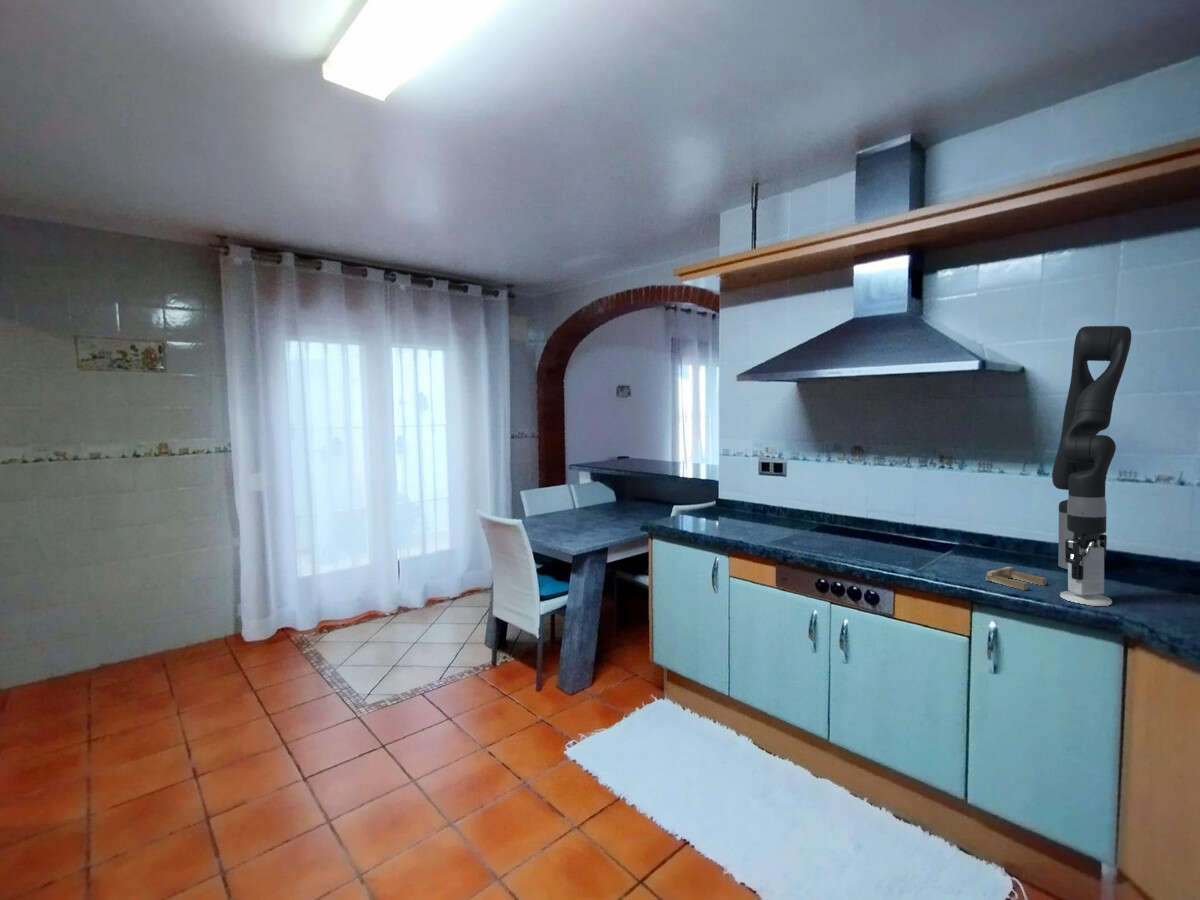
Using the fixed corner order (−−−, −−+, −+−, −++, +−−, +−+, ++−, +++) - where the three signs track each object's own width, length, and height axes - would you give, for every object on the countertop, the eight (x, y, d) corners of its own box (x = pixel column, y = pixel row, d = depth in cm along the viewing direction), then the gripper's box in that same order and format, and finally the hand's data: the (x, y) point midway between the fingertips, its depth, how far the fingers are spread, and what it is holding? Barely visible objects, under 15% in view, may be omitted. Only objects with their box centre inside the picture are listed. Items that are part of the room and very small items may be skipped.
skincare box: (1089, 588, 143) (1089, 543, 142) (1104, 594, 139) (1105, 547, 138) (1066, 590, 143) (1067, 544, 142) (1081, 595, 139) (1082, 548, 138)
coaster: (1073, 591, 148) (1073, 588, 148) (1120, 602, 138) (1120, 599, 138) (1051, 597, 144) (1051, 594, 144) (1098, 609, 134) (1098, 606, 134)
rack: (1007, 576, 163) (1007, 566, 163) (1046, 585, 154) (1046, 574, 153) (986, 581, 159) (985, 571, 159) (1024, 591, 150) (1024, 580, 149)
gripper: (1088, 518, 133) (1087, 585, 134) (1120, 512, 139) (1119, 576, 140) (1052, 514, 140) (1052, 577, 141) (1084, 508, 146) (1084, 569, 147)
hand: (1085, 576), depth 141 cm, fingers closed on skincare box, 7 cm apart
